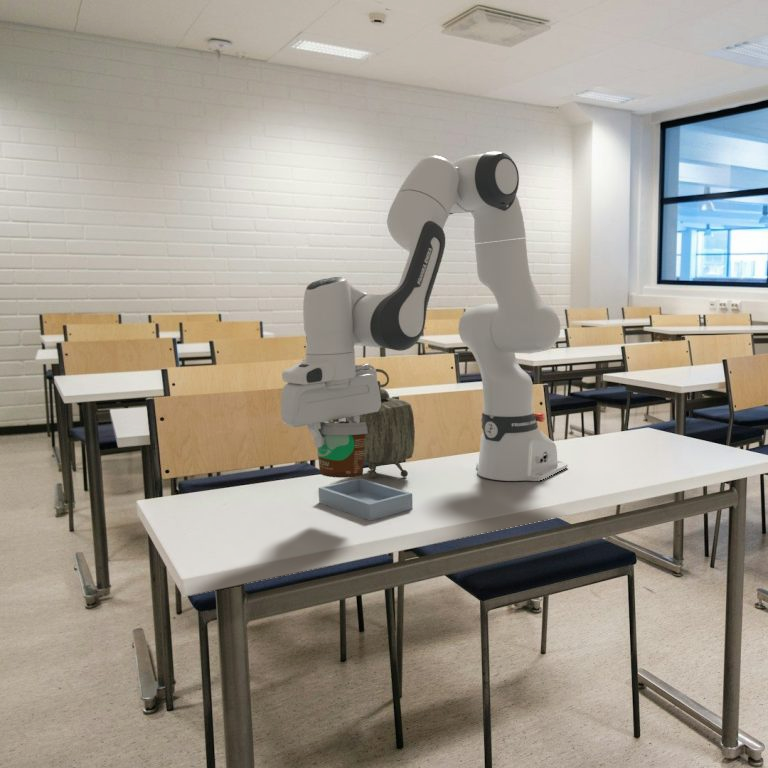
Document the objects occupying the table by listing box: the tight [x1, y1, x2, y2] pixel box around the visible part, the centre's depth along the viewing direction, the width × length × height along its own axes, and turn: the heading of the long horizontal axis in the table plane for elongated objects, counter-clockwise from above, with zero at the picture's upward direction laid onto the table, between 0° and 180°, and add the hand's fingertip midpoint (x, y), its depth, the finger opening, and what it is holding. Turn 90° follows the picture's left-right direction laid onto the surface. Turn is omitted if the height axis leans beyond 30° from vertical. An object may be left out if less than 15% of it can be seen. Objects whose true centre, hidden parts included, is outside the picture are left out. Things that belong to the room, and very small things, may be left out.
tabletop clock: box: [345, 368, 416, 479], centre depth 160 cm, size 14×9×25 cm, turn 45°
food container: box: [316, 420, 368, 479], centre depth 127 cm, size 12×6×10 cm, turn 44°
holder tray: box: [318, 477, 414, 522], centre depth 138 cm, size 11×17×3 cm, turn 40°
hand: (335, 443), depth 128 cm, fingers closed on food container, 5 cm apart
